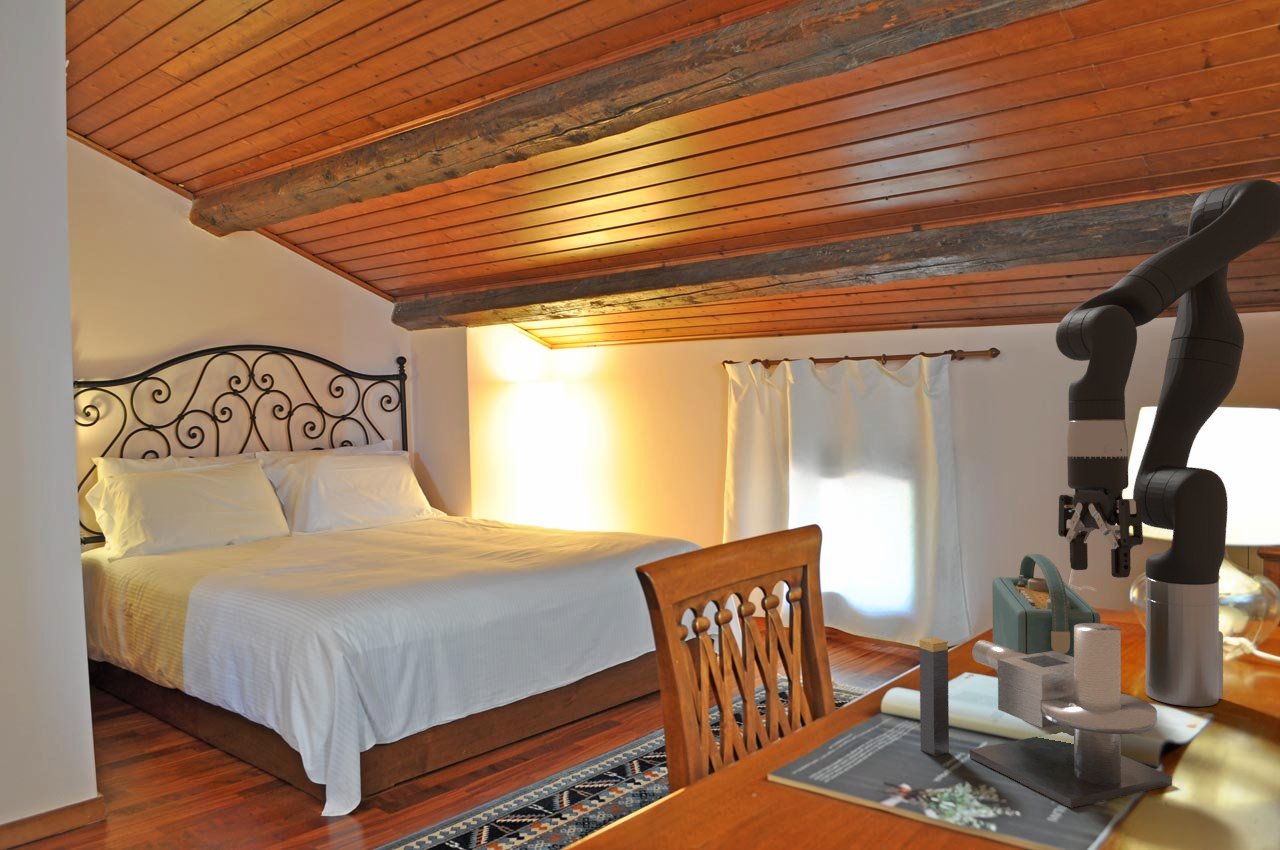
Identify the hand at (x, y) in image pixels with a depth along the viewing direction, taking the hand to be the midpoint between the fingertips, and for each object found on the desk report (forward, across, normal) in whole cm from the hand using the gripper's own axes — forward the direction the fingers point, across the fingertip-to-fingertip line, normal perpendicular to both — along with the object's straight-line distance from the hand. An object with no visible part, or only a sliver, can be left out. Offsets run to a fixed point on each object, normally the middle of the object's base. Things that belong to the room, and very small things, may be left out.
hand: (1099, 573), depth 135 cm
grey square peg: (+21, -5, +27) cm, 35 cm away
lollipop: (+17, +43, -25) cm, 53 cm away
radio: (+19, +12, +1) cm, 23 cm away
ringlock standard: (+21, -12, +16) cm, 29 cm away
